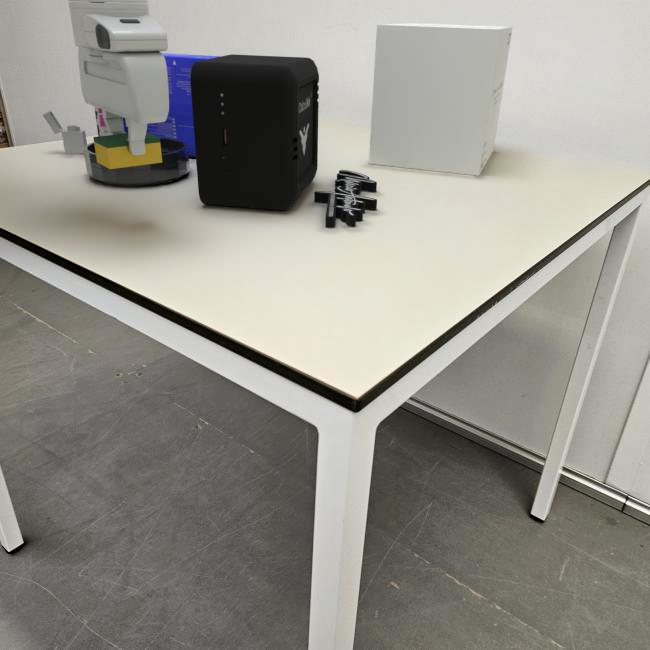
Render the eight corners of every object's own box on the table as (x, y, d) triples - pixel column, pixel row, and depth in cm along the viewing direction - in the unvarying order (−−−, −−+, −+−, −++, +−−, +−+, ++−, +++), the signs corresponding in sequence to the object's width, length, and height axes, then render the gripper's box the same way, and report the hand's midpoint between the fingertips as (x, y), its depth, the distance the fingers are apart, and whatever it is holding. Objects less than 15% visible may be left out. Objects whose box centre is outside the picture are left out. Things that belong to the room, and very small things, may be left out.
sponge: (109, 169, 75) (106, 143, 74) (97, 162, 78) (93, 136, 77) (162, 162, 79) (160, 137, 77) (148, 155, 82) (145, 131, 81)
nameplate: (318, 169, 107) (375, 170, 107) (318, 177, 108) (374, 179, 108) (309, 216, 83) (382, 218, 83) (309, 226, 84) (381, 229, 83)
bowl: (109, 193, 96) (104, 161, 94) (75, 171, 108) (70, 142, 106) (206, 179, 105) (204, 149, 103) (165, 159, 117) (162, 133, 115)
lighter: (88, 151, 122) (82, 110, 118) (86, 153, 120) (79, 111, 116) (52, 151, 121) (44, 110, 117) (49, 153, 119) (41, 111, 116)
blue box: (287, 161, 119) (286, 59, 110) (264, 170, 112) (261, 62, 103) (136, 139, 134) (125, 48, 125) (108, 145, 127) (95, 50, 119)
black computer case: (293, 216, 88) (294, 67, 78) (198, 208, 90) (188, 62, 81) (319, 181, 105) (322, 57, 96) (239, 175, 108) (234, 53, 98)
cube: (478, 175, 112) (500, 29, 101) (368, 163, 118) (377, 24, 107) (493, 150, 133) (512, 26, 122) (399, 141, 139) (408, 22, 128)
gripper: (58, 27, 77) (77, 138, 83) (117, 34, 63) (134, 168, 69) (108, 27, 80) (122, 134, 87) (174, 34, 66) (185, 162, 72)
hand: (128, 149), depth 78 cm, fingers closed on sponge, 4 cm apart
